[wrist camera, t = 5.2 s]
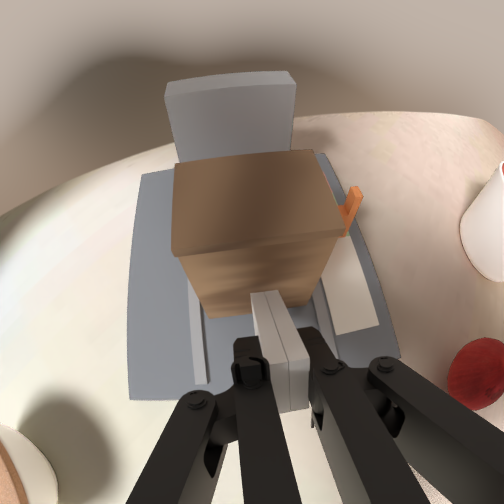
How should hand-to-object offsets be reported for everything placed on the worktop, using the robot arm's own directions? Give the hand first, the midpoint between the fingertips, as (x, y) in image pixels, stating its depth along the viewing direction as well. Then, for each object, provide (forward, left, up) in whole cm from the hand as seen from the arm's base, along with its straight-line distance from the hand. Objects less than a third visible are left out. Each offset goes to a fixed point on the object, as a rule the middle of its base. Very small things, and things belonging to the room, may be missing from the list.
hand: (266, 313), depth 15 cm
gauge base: (0, +7, -5) cm, 9 cm away
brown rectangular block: (0, +4, -4) cm, 5 cm away
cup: (+28, +4, -6) cm, 29 cm away
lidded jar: (-23, -13, -6) cm, 27 cm away
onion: (+16, -8, -6) cm, 19 cm away
